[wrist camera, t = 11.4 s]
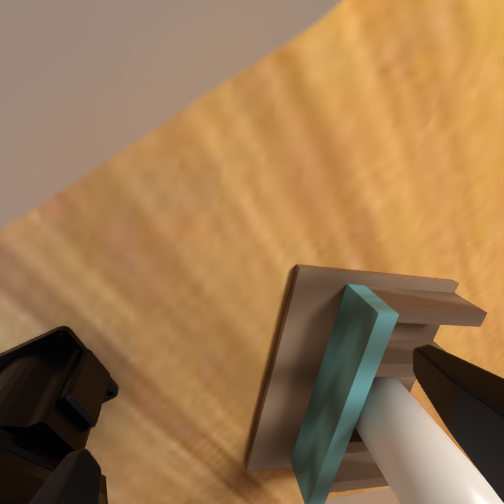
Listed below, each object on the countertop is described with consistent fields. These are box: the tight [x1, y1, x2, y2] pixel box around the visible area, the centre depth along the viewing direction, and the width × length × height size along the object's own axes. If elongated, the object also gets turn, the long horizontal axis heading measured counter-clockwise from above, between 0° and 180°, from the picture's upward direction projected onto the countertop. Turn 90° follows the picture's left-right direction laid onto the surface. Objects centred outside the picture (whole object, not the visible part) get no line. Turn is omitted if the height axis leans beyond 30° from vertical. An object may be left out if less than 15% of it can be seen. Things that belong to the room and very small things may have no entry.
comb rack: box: [246, 264, 487, 504], centre depth 25 cm, size 20×14×5 cm
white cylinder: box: [355, 377, 504, 504], centre depth 21 cm, size 5×5×13 cm
